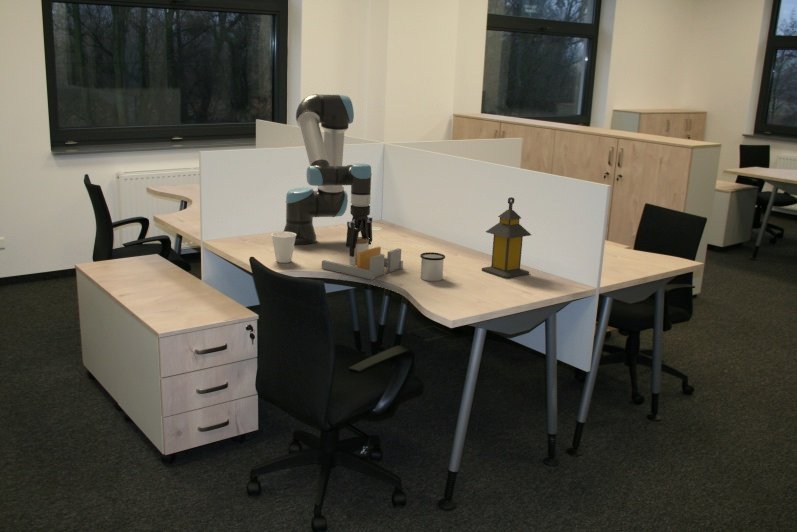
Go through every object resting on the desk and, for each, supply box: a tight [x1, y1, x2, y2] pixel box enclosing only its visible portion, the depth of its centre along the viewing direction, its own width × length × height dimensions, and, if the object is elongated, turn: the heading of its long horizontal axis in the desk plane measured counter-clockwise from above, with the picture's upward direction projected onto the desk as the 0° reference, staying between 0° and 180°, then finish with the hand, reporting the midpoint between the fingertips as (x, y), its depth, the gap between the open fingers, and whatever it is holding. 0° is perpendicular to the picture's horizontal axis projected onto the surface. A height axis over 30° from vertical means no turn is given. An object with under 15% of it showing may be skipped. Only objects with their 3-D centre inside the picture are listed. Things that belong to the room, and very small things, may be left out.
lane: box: [321, 248, 404, 281], centre depth 291 cm, size 21×24×8 cm
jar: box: [350, 236, 370, 267], centre depth 291 cm, size 7×7×10 cm
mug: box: [419, 251, 446, 282], centre depth 283 cm, size 12×10×9 cm
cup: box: [270, 231, 296, 264], centre depth 297 cm, size 10×10×11 cm
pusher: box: [356, 246, 388, 270], centre depth 288 cm, size 14×9×7 cm, turn 147°
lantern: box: [481, 197, 532, 280], centre depth 292 cm, size 14×14×30 cm
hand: (358, 262), depth 293 cm, fingers closed on jar, 7 cm apart
